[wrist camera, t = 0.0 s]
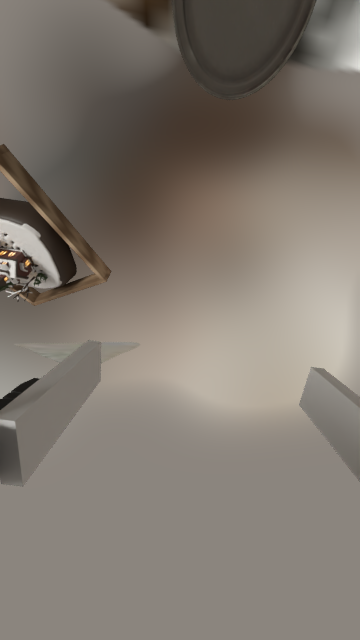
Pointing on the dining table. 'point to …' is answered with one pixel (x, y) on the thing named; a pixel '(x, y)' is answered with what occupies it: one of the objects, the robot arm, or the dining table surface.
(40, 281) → the miniature diorama
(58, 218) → the diorama tray
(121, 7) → the dining table surface
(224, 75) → the coffee can
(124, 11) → the dining table surface
